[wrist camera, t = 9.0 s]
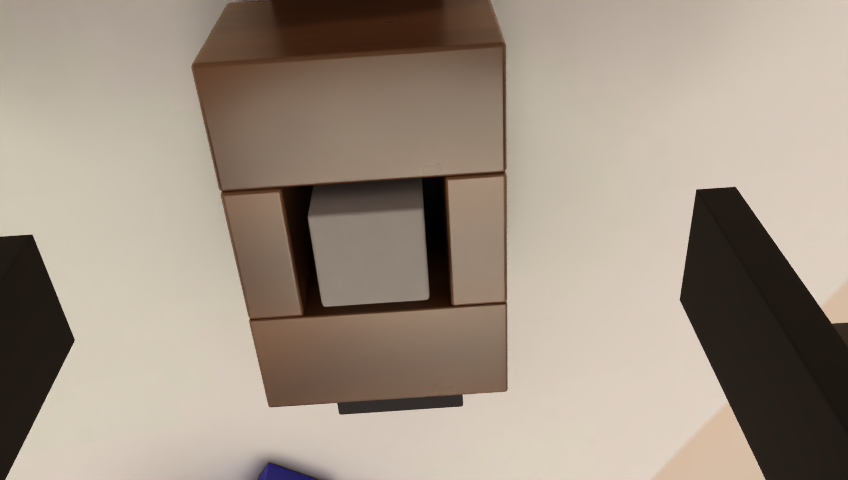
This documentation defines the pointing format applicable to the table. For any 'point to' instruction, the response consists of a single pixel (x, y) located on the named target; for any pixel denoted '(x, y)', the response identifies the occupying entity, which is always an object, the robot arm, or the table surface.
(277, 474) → the mount
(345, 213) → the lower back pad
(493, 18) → the brown wooden frame
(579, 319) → the table surface
